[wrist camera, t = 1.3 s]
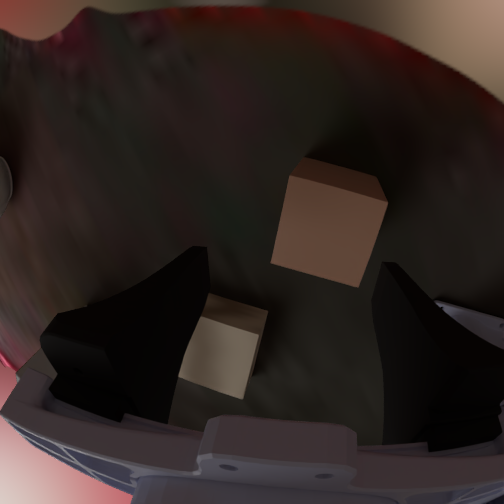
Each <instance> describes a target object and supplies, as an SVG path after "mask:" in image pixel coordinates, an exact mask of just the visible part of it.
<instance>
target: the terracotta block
mask: <svg viewBox="0 0 504 504" xmlns="http://www.w3.org/2000/svg"><path fill="white" fill-rule="evenodd" d="M387 205H388V201H387V199H386V197H385V194H384V192H383V190H382V188H381V186H380V183H379V181H378V179H377V177H375V176H372V175H369V174H365V173H362V172H359V171H355V170H352V169H348V168H344V167H341V166H337V165H333V164H330V163H326V162H322V161H318V160H314V159H310V158H306V157H303V159H302V160H301V161H300V163H299V164H298V165H297V166H296V168H295V169H294V170H293V172H292V173H291V174H290V176H289V181H288V186H287V191H286V195H285V200H284V205H283V209H282V214H281V219H280V223H279V228H278V233H277V237H276V242H275V246H274V251H273V255H272V260H271V263H272V264H276V265H279V266H283V267H287V268H290V269H294V270H297V271H301V272H304V273H308V274H311V275H315V276H319V277H322V278H326V279H329V280H333V281H337V282H340V283H344V284H347V285H351V286H354V287H358V286H359V284H360V281H361V279H362V276H363V273H364V271H365V268H366V266H367V263H368V260H369V257H370V255H371V252H372V249H373V246H374V244H375V241H376V238H377V235H378V232H379V229H380V226H381V223H382V220H383V217H384V214H385V211H386V208H387Z"/></svg>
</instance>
